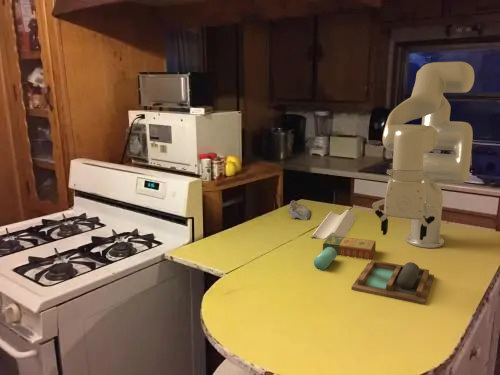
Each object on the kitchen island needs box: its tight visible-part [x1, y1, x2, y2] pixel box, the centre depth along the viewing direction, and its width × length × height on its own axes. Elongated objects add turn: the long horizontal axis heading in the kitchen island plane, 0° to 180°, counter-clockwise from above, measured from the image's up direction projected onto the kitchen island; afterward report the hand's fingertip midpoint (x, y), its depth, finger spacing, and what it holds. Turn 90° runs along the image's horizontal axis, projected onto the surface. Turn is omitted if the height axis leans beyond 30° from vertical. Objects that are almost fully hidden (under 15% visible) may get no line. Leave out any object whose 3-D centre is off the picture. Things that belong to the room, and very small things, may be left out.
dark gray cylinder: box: [397, 261, 420, 290], centre depth 121 cm, size 9×4×4 cm, turn 151°
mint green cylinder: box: [313, 247, 338, 271], centre depth 136 cm, size 9×4×4 cm, turn 151°
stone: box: [288, 199, 312, 221], centre depth 189 cm, size 17×5×10 cm
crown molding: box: [310, 209, 357, 241], centre depth 172 cm, size 31×12×4 cm, turn 158°
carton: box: [322, 235, 377, 261], centre depth 146 cm, size 8×16×4 cm, turn 65°
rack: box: [351, 259, 435, 306], centre depth 123 cm, size 18×19×2 cm
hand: (403, 236), depth 119 cm, fingers open, 9 cm apart
